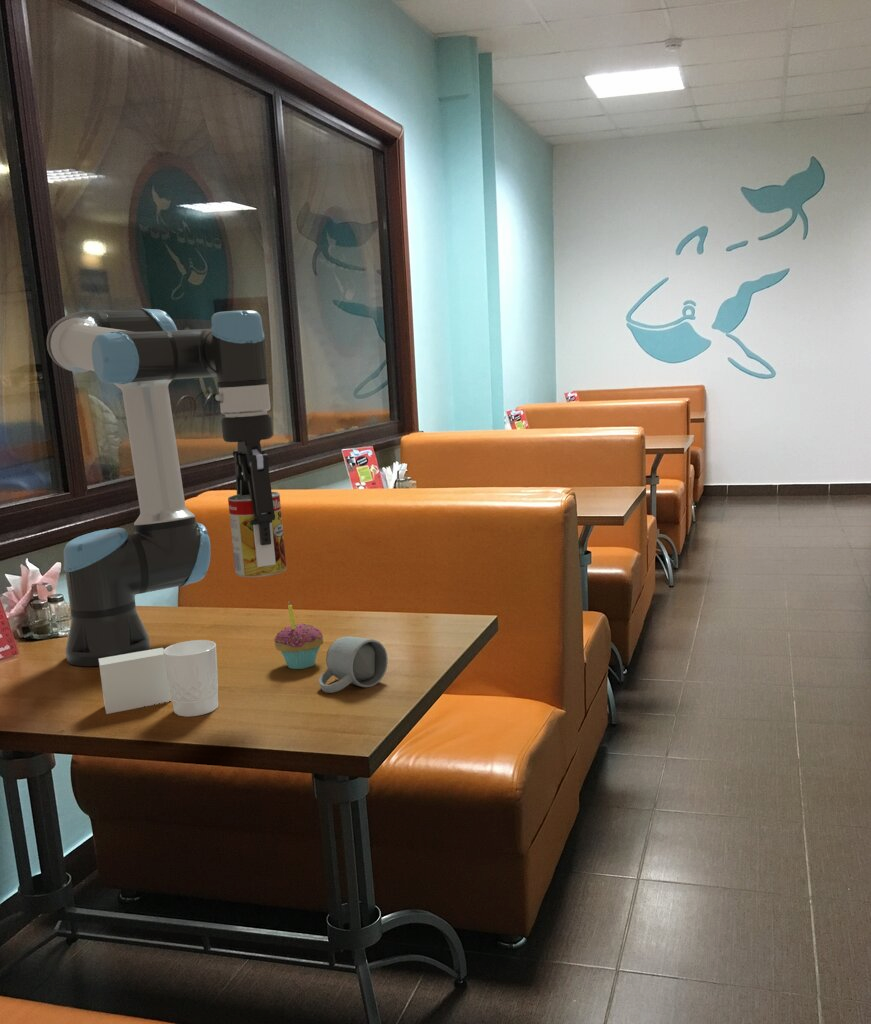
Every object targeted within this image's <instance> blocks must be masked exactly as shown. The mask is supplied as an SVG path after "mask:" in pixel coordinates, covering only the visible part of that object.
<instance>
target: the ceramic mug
mask: <svg viewBox="0 0 871 1024" xmlns="http://www.w3.org/2000/svg"><path fill="white" fill-rule="evenodd" d="M325 658H326V659H325V661H326V662H325V664H326V667H327V668H326V670H325V671H323V673H321V675H320V676H319V679H318V684H319V686H320V688H321V691H323V692H324V693H326V694H332V693H333V694H334V693H337V692H339V691H342V690H343V689H345V688H347V687H348V686H349V685H350V684H352V685H355V686H358V687H361V688H372V687H374V686H376V685H377V684H379V683H380V682H381V681H382V680H383V678H384V676H385V674H386V672H387V668H388V663H389V661H388V660H389V659H388V653H387V650H386V648H385V646H384V645H383V643H381V641H379V640H377V639H375V638H373V639H372V638H365V637H357V636H351V635H350V636H349V635H348V636H342V637H339V638H337V639H335V640H334V641H333V642H332V643H331V644H330V646H329V647H328V649H327V651H326V657H325ZM332 677H335V678H337V679H338V681H336V682H333V683H331V684H326V683H327V681H329V680H330V678H332Z"/></svg>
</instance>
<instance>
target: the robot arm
mask: <svg viewBox="0 0 871 1024" xmlns="http://www.w3.org/2000/svg"><path fill="white" fill-rule="evenodd" d="M210 320H211V321H210V322H211V327H210V328H204V329H203V328H201V329H197V328H196V329H180V330H179V329H178V328H177V325H176V324H175V322H174V320H173V318H171V316H170V315H169V314H168V313H167V311H164V310H161V309H158V308H157V309H156V308H154V309H153V308H152V309H151V308H144V307H142V308H141V307H140V308H125V309H122V308H121V309H101V310H99V309H97V310H95V309H94V310H93V309H90V310H82V311H76V312H73V313H70V314H68V315H66V316H63V317H62V318H60V319H58V320H57V321H56V322H55V323H53V325H52V326H51V327H50V329H49V331H48V333H47V337H46V349H47V352H48V354H49V355H48V356H50V358H51V359H52V361H53V362H54V363H55V364H56V365H57V366H59V367H60V368H62V369H63V370H66V371H70V372H73V373H85V374H95V375H96V376H97V378H98V380H99V381H100V382H101V383H103V384H114V386H116V387H117V388H118V389H120V390H121V392H122V398H123V403H124V404H123V405H124V410H125V411H124V412H125V418H126V424H127V425H126V426H127V430H128V432H127V433H128V437H129V445H130V446H129V447H130V449H131V450H130V452H131V459H132V466H133V471H134V472H133V473H134V478H135V485H136V491H137V492H136V493H137V498H138V499H137V500H138V505H139V516H138V517H137V519H135V521H134V523H133V526H134V527H133V528H134V533H130V534H129V532H128V531H127V530H126V529H125V528H123V527H112V528H108V529H101V530H95V531H93V532H89V533H86V534H83V535H80V536H77V537H75V538H73V539H71V540H70V541H68V542H67V543H66V545H65V546H64V548H63V571H64V572H65V579H66V580H65V581H66V586H67V587H66V588H67V594H68V601H69V610H70V617H71V618H70V619H71V621H70V627H69V633H68V636H67V642H66V645H65V646H66V647H65V655H66V661H67V663H68V664H69V665H72V666H78V667H98V666H99V658H105V657H111V656H117V655H122V654H128V653H134V652H140V651H146V650H151V642H150V637H149V633H148V631H147V630H146V627H145V625H144V623H143V621H142V619H141V617H140V615H139V613H138V611H137V605H136V598H135V597H136V596H137V595H140V594H146V593H150V592H156V591H161V590H165V589H171V588H176V587H180V588H183V587H184V586H187V585H191V584H195V583H198V582H200V581H201V580H203V579H204V578H205V577H206V574H207V572H208V570H209V567H210V563H211V541H210V536H209V535H208V530H207V527H206V526H205V525H204V524H203V523H200V522H197V520H196V515H195V514H194V513H193V512H192V511H190V510H189V509H187V506H186V500H185V495H184V487H183V480H182V473H181V467H180V460H179V452H178V446H177V439H176V432H175V426H174V425H175V424H174V419H173V413H172V404H171V398H170V397H171V396H170V392H169V384H170V383H171V382H172V381H174V380H185V379H200V378H202V379H203V378H204V379H207V378H208V379H209V378H213V379H215V378H216V380H217V381H216V382H217V383H216V384H217V388H218V393H217V394H215V396H214V398H215V400H216V402H217V401H219V408H220V413H221V414H223V415H224V417H222V419H221V420H220V421H221V430H222V432H221V433H222V438H223V439H222V440H223V441H224V442H227V443H237V449H233V450H232V451H233V452H232V456H233V462H234V472H235V487H236V490H235V491H236V495H239V494H241V495H249V494H250V498H251V500H252V509H253V514H254V520H251V521H250V525H253V529H254V539H255V549H256V559H257V566H258V567H262V566H269V565H275V564H276V561H275V551H274V540H273V530H272V520H275V514H274V507H273V499H272V492H273V491H272V484H271V478H270V469H269V466H270V465H269V458H270V457H269V455H268V454H267V453H265V451H262V450H263V449H262V446H261V441H262V440H269V439H271V438H273V436H274V432H273V422H272V416H271V415H270V414H268V412H269V411H270V410H271V409H272V408H271V407H272V406H271V397H270V396H271V395H270V388H269V387H270V386H269V384H268V383H269V382H268V371H267V370H268V369H267V358H266V347H265V344H266V343H265V338H266V337H265V336H266V335H265V333H264V328H263V322H262V316H261V314H260V313H259V312H258V311H256V310H252V309H251V310H249V309H248V310H246V309H245V310H229V311H228V310H227V311H218V312H215V313H214V314H213V315H212V316H211V319H210Z"/></svg>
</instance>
